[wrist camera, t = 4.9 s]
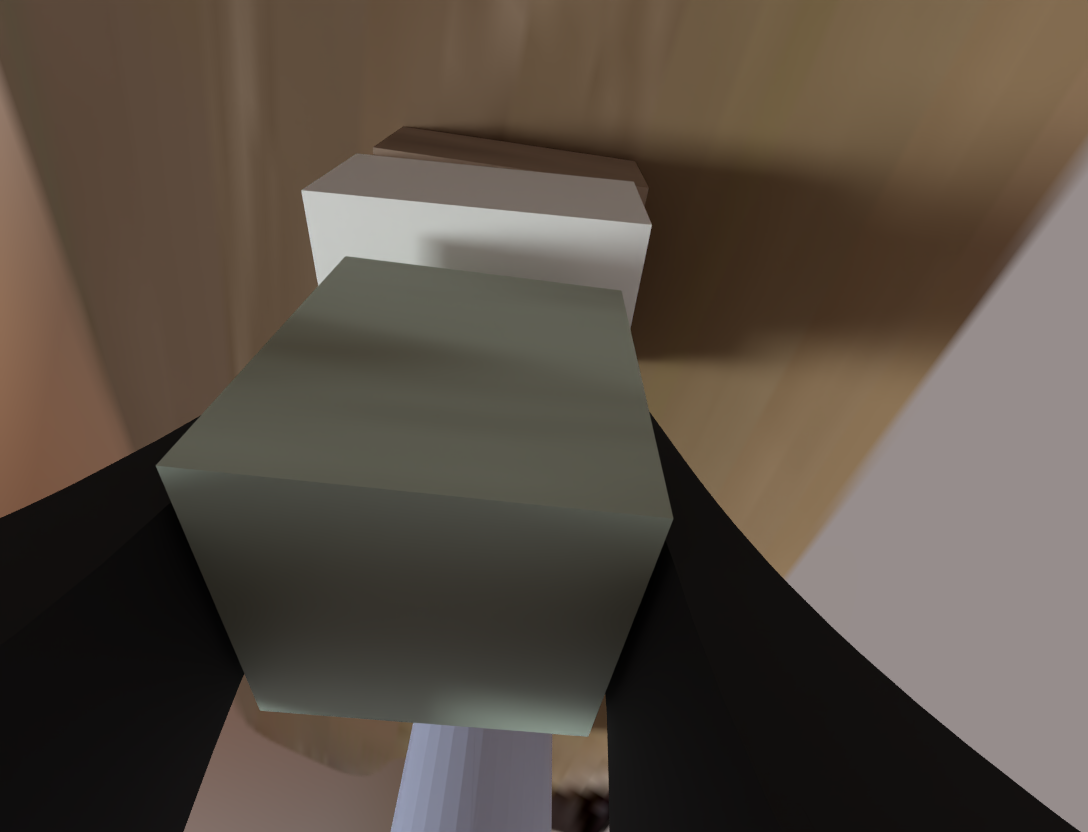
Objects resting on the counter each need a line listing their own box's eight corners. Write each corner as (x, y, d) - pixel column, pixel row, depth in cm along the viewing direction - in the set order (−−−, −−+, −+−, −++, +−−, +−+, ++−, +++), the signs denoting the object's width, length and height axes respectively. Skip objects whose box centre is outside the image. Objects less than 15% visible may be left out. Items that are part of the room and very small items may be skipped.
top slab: (594, 404, 15) (599, 477, 13) (383, 385, 15) (348, 455, 13) (633, 181, 12) (651, 224, 9) (356, 153, 11) (301, 189, 9)
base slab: (591, 354, 18) (596, 407, 15) (410, 330, 17) (386, 381, 15) (633, 159, 14) (649, 188, 12) (405, 124, 14) (372, 147, 11)
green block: (577, 485, 11) (588, 736, 7) (367, 463, 11) (260, 710, 7) (621, 290, 9) (673, 518, 5) (345, 255, 9) (154, 466, 5)
